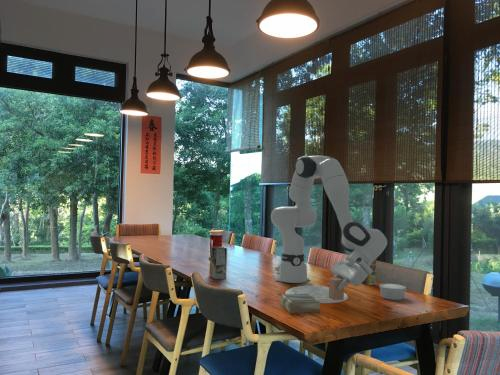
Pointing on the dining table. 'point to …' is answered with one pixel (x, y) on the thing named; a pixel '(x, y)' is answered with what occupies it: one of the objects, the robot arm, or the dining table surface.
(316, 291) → the ceiling medallion
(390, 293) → the ramekin
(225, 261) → the coffee box
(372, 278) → the candy box
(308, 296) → the base block
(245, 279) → the dining table surface
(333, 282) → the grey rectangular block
